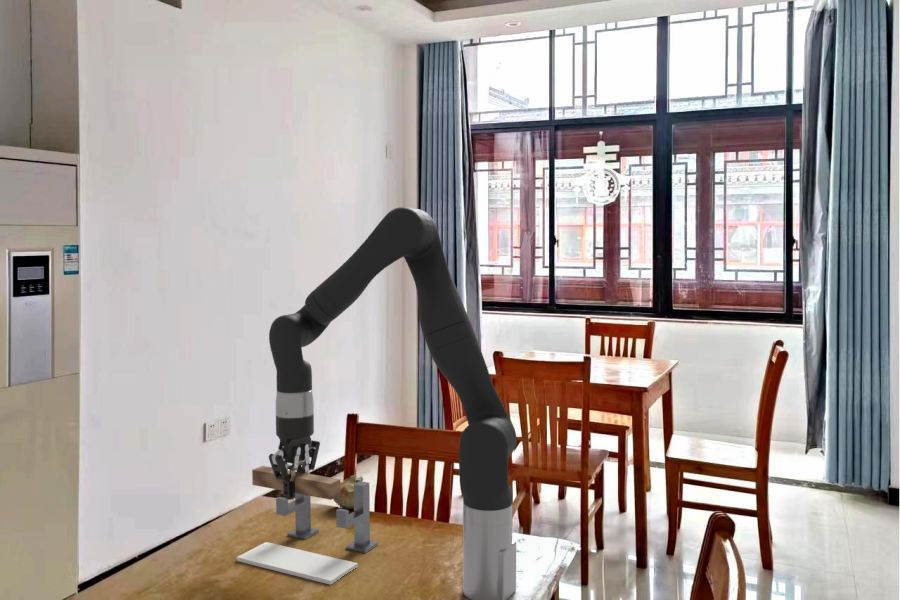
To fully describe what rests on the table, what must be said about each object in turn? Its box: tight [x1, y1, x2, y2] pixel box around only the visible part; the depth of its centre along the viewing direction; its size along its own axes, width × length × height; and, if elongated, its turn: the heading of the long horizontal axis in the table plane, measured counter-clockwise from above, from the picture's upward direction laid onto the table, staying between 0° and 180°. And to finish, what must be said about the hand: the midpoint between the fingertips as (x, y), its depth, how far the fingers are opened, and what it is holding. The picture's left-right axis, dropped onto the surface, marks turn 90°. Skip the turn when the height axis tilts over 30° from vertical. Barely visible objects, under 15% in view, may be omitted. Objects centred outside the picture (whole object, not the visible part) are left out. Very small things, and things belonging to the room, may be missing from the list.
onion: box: [332, 474, 364, 510], centre depth 185 cm, size 8×8×8 cm
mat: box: [236, 541, 359, 586], centre depth 152 cm, size 24×9×1 cm, turn 63°
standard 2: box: [335, 481, 379, 554], centre depth 158 cm, size 5×10×14 cm, turn 153°
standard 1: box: [275, 471, 320, 540], centre depth 166 cm, size 5×10×14 cm, turn 153°
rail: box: [251, 465, 341, 501], centre depth 151 cm, size 20×3×3 cm, turn 63°
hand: (295, 495), depth 151 cm, fingers closed on rail, 3 cm apart
